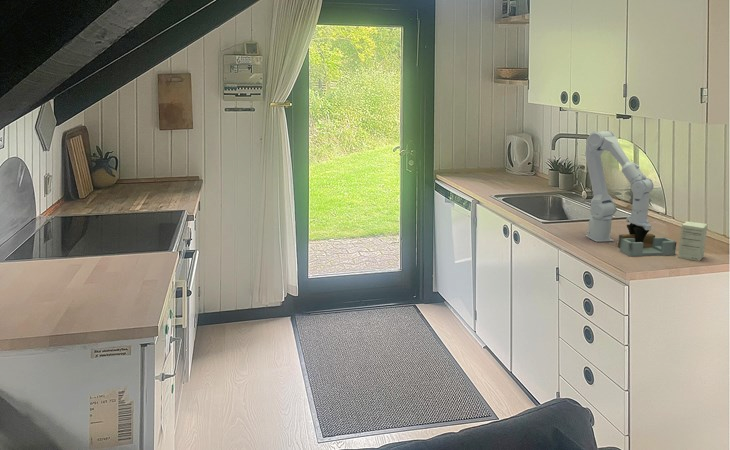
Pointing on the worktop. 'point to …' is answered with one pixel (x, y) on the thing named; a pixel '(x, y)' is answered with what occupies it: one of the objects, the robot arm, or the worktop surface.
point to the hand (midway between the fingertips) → (636, 243)
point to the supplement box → (692, 240)
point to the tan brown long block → (646, 242)
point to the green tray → (658, 248)
